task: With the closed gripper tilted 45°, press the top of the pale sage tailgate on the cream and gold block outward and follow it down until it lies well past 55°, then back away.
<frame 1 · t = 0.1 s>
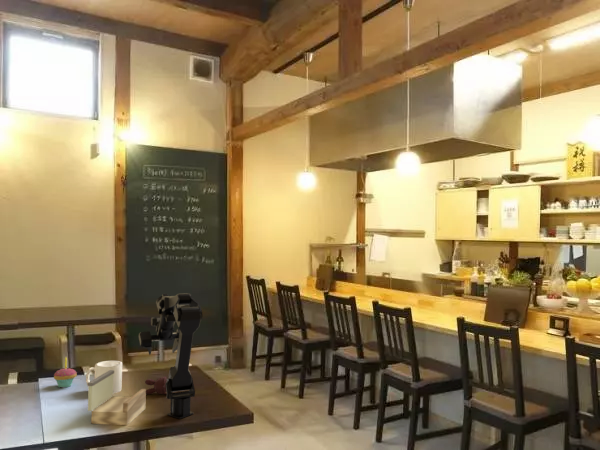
hand: (161, 353, 202), 15 cm above the table, tool tilted 35°, fingers open, 9 cm apart
icecream: (164, 394, 197), on the table
mug: (105, 391, 200), on the table
cupcake: (65, 386, 205), on the table
cream and gold block: (119, 415, 172), on the table
tailgate: (101, 389, 172), point 9 cm above the table, hinge at 0.0°
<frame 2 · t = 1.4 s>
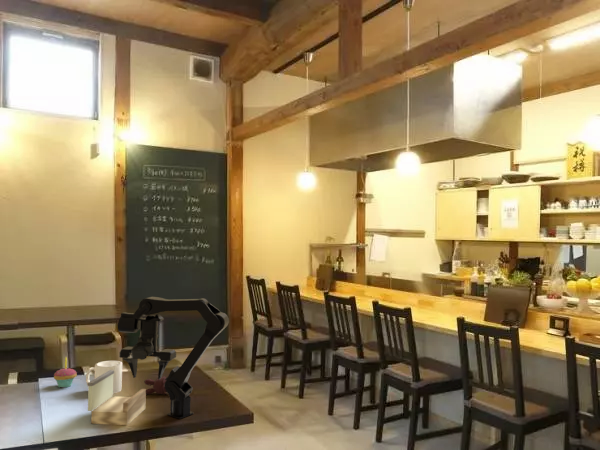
hand: (147, 378, 175), 12 cm above the table, tool pointing down, fingers open, 9 cm apart
nothing on the table moved.
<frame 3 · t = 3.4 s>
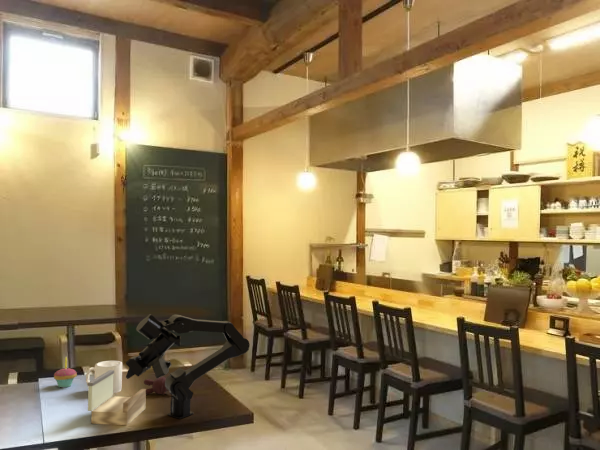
hand: (127, 377, 172), 13 cm above the table, tool tilted 45°, fingers closed
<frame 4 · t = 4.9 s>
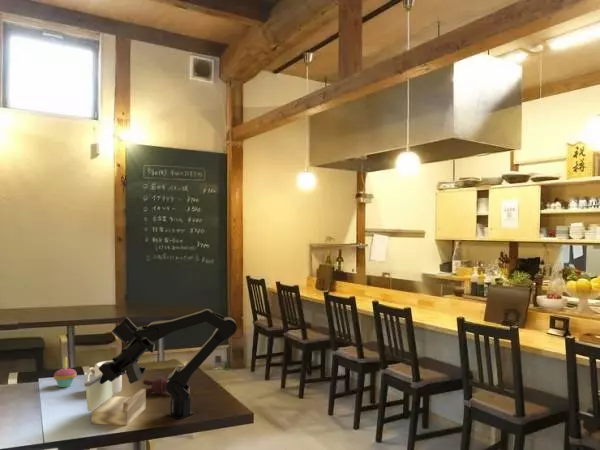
hand: (101, 383, 172), 11 cm above the table, tool tilted 45°, fingers closed, pressing on tailgate
tailgate: (99, 390, 172), point 9 cm above the table, hinge at 7.1°, touching gripper
everything else where it was.
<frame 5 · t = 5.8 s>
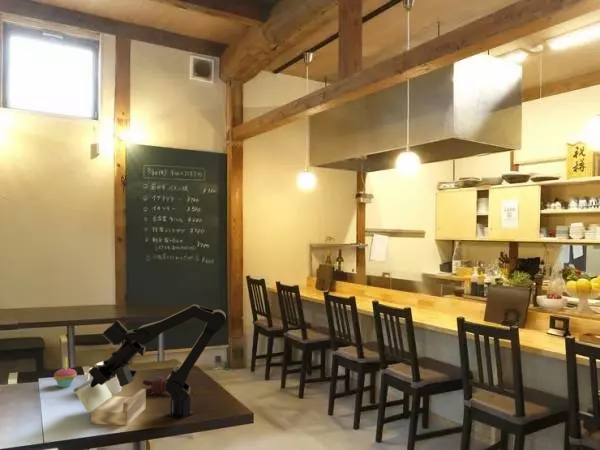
hand: (91, 386, 172), 10 cm above the table, tool tilted 45°, fingers closed, pressing on tailgate
tailgate: (94, 392, 173), point 7 cm above the table, hinge at 34.3°, touching gripper
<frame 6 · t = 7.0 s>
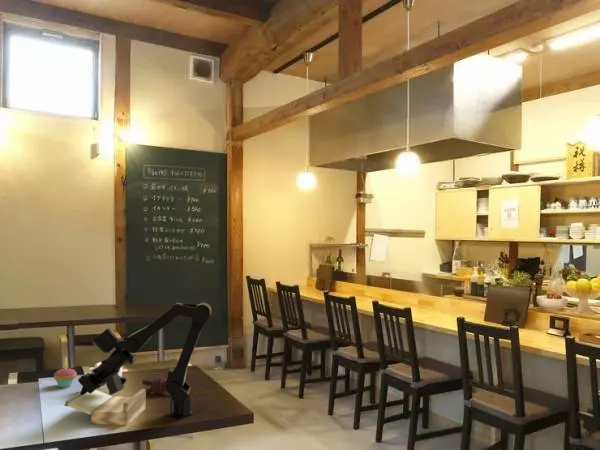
hand: (81, 394, 173), 7 cm above the table, tool tilted 45°, fingers closed
tailgate: (89, 400, 173), point 5 cm above the table, hinge at 71.4°
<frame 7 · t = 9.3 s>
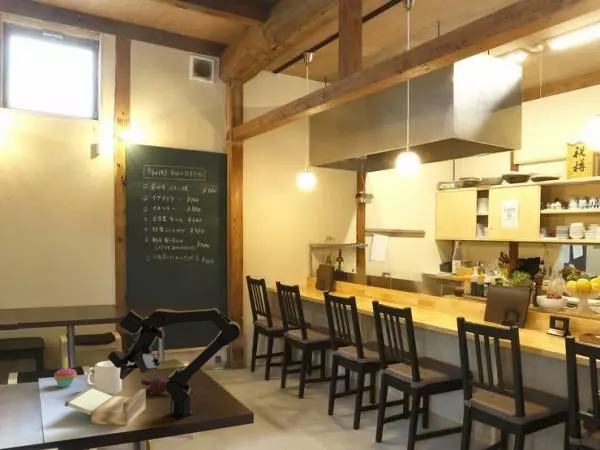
hand: (121, 378, 175), 12 cm above the table, tool tilted 30°, fingers closed
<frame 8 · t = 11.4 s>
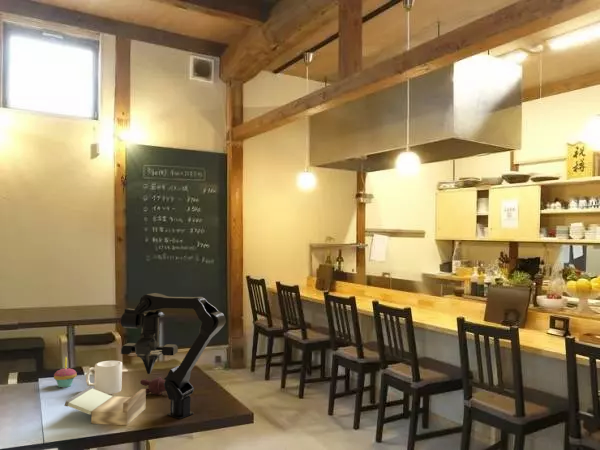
hand: (149, 373, 178), 13 cm above the table, tool pointing down, fingers closed
at the end: tailgate at +71° (first picture: +0°); mug moved 0.2 cm from its start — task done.
